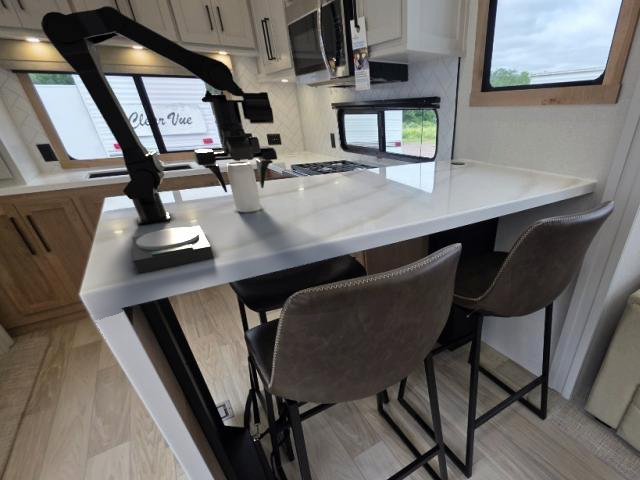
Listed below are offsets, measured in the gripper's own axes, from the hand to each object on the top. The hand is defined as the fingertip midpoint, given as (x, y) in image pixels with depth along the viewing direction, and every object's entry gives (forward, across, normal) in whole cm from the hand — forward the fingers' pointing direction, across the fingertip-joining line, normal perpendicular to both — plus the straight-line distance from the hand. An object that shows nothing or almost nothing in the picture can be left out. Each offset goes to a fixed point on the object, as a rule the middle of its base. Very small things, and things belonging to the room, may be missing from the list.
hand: (244, 189), depth 88 cm
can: (+6, 0, 0) cm, 6 cm away
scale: (+5, -20, -23) cm, 31 cm away
